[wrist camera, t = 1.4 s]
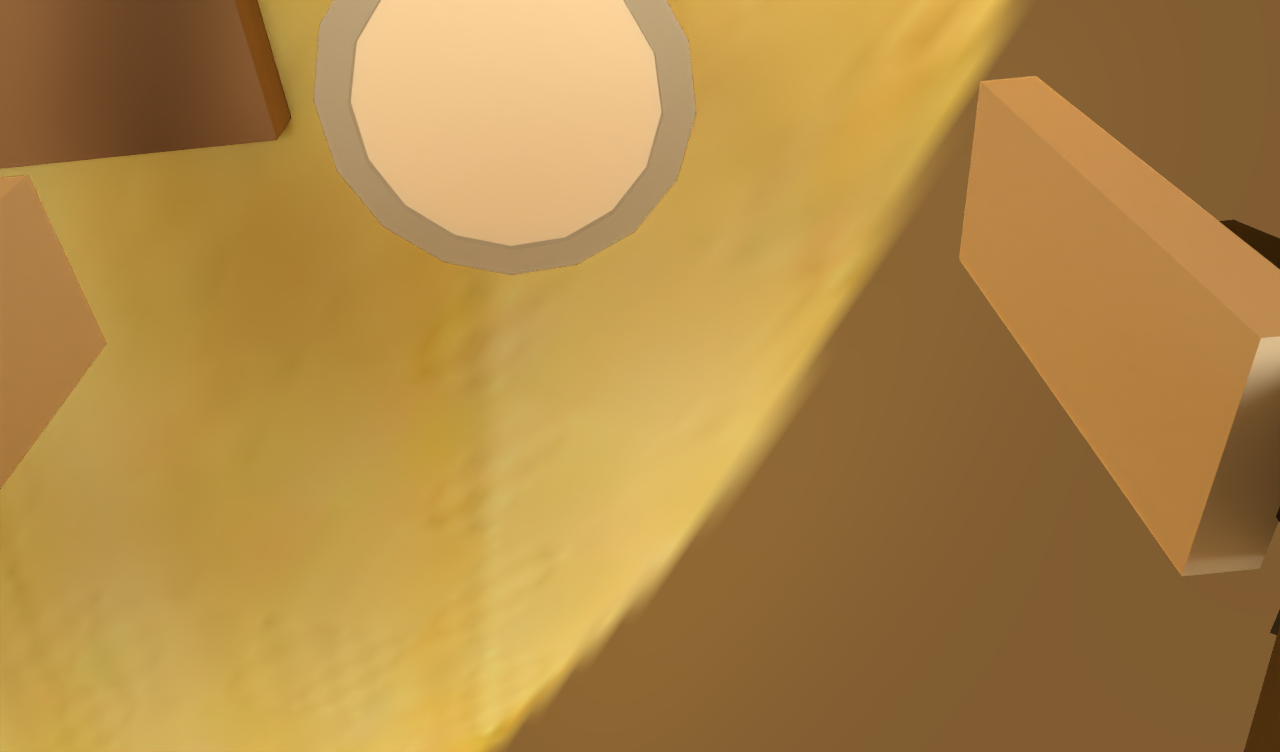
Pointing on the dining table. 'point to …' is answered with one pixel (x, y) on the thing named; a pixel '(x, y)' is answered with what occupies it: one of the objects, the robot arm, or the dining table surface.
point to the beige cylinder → (506, 121)
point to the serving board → (133, 78)
